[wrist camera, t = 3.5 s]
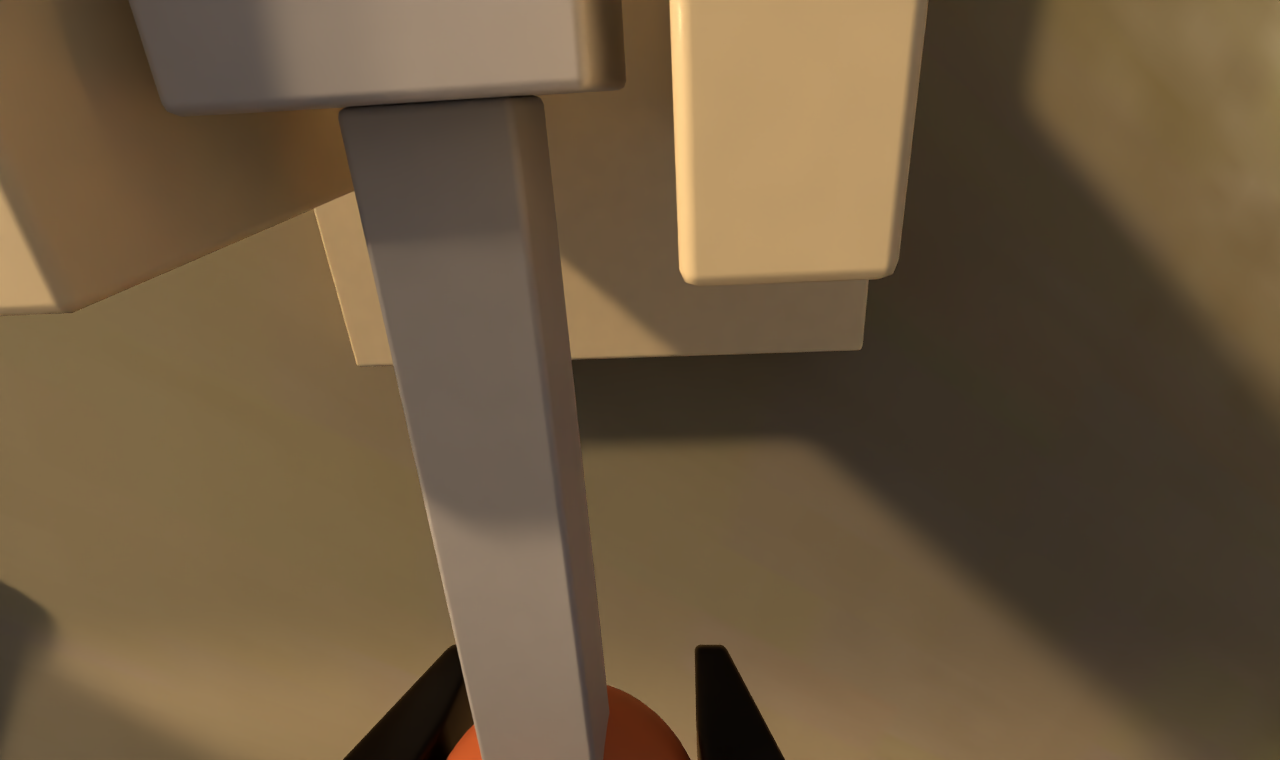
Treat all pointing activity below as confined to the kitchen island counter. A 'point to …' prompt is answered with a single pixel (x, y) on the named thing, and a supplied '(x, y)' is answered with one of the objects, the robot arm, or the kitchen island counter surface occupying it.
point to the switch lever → (458, 308)
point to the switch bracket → (580, 167)
